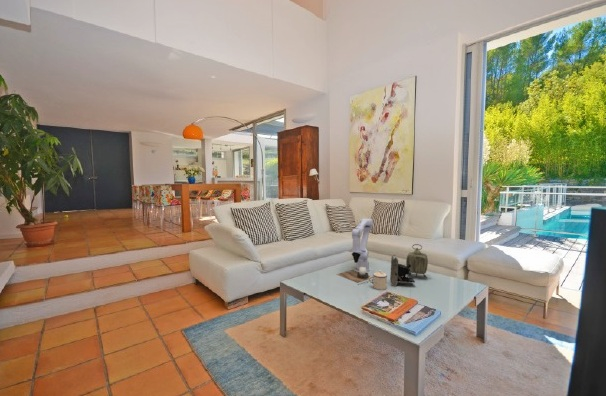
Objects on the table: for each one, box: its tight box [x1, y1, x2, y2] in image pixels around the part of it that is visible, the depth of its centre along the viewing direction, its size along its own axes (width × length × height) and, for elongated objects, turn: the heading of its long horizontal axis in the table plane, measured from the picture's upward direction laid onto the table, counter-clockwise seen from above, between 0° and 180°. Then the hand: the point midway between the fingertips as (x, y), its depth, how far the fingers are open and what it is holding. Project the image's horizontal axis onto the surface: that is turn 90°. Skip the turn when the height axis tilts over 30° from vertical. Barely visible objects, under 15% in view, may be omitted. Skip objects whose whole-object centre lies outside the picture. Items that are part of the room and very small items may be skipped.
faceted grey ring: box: [357, 271, 369, 279], centre depth 205 cm, size 8×8×2 cm
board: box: [336, 269, 373, 286], centre depth 207 cm, size 18×22×2 cm
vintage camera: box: [389, 254, 416, 287], centre depth 193 cm, size 10×15×20 cm, turn 78°
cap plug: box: [358, 267, 367, 275], centre depth 205 cm, size 5×5×7 cm
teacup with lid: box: [368, 269, 388, 291], centre depth 189 cm, size 12×9×12 cm
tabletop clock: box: [405, 243, 429, 279], centre depth 207 cm, size 14×9×25 cm, turn 62°
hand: (356, 262), depth 211 cm, fingers closed
